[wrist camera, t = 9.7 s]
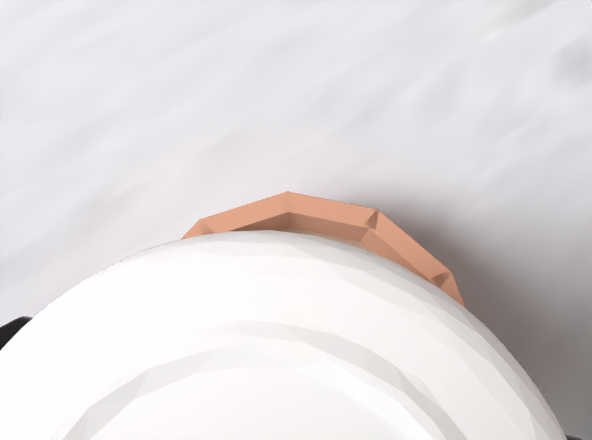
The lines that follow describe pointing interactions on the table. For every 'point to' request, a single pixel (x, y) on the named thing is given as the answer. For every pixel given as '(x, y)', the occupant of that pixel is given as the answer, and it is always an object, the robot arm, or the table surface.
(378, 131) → the table surface
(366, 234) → the terracotta bowl
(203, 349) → the sprinkles bottle
